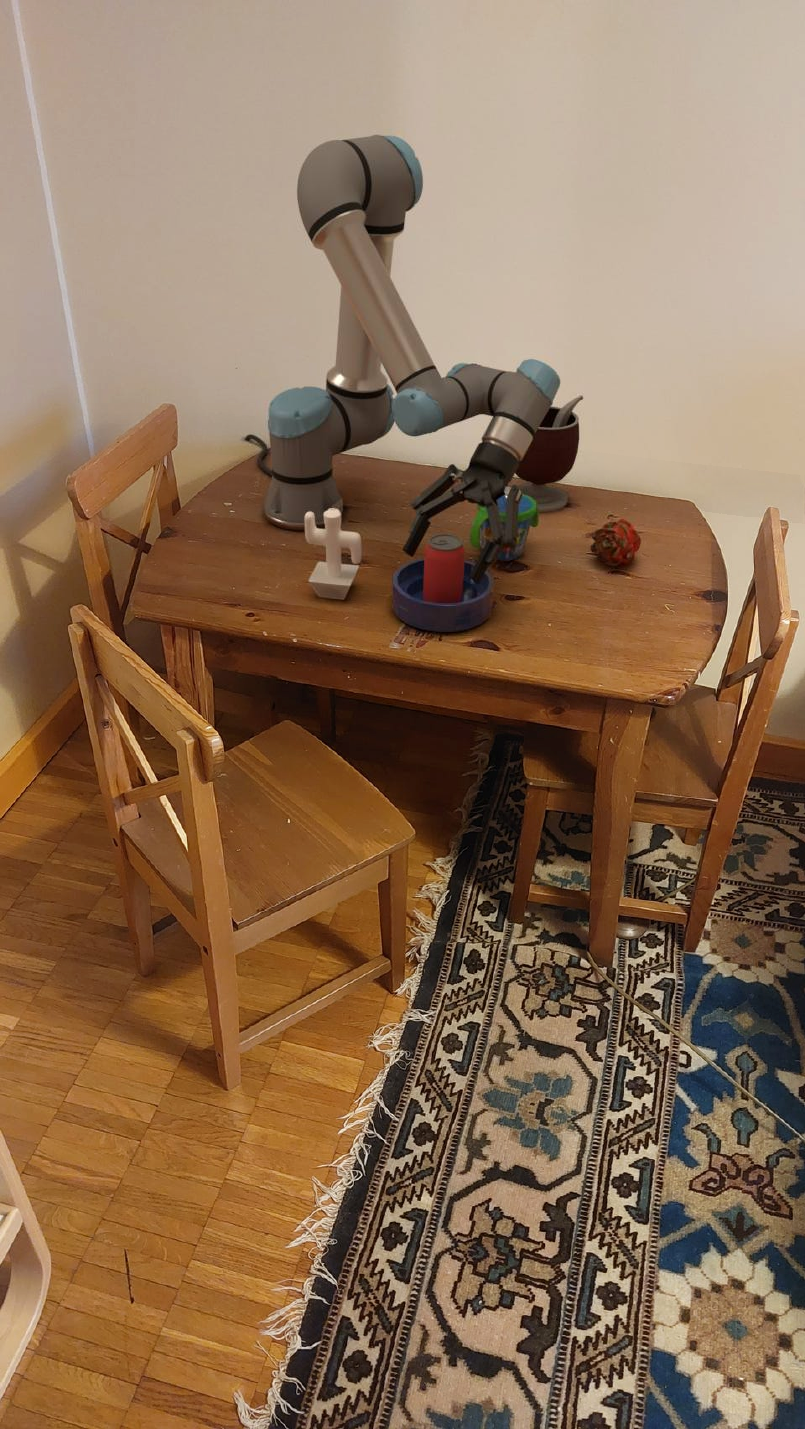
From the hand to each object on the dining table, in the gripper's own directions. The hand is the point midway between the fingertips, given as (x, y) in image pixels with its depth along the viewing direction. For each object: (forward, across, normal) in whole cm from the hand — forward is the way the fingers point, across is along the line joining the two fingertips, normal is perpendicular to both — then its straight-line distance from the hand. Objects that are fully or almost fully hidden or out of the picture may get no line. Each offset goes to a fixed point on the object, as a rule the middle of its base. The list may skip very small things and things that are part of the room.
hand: (439, 566), depth 164 cm
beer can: (+5, 0, -6) cm, 8 cm away
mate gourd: (-29, +12, -41) cm, 52 cm away
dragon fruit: (-19, -13, -31) cm, 39 cm away
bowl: (+5, 0, -6) cm, 8 cm away
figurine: (+11, +17, -1) cm, 20 cm away
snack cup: (-11, +4, -23) cm, 26 cm away
